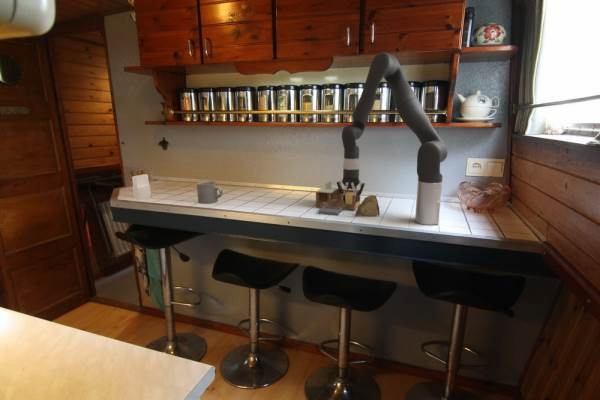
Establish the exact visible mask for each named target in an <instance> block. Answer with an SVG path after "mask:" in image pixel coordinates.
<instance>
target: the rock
mask: <svg viewBox="0 0 600 400" xmlns="http://www.w3.org/2000/svg"><path fill="white" fill-rule="evenodd" d="M380 213H381V211H380V206H379V200H378V198H377V195H374V194H370V195H368V196H366V197H364V199H363V200H362V201H361V202H360V205H359V206H358V208H357V209H356V210H355V214H354V215H355V216H356V217H368V218H369V217H379V216H380V215H381V214H380Z"/></svg>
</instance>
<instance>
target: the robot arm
mask: <svg viewBox="0 0 600 400" xmlns="http://www.w3.org/2000/svg"><path fill="white" fill-rule="evenodd" d="M383 79H384V80H385V81H386V83H387V85H388V86H389V88H390V91H391V93H392V97H393V98H392V99H393V105H394V108H395V109H396V112H397V114H398V116H399V117H400V119H401V120H402V122H403V123H404V125H405V126H407V128H409V130H411V132H413V133H414V135H415V136H416V137H417V139H418V140H419V142H420V144H421V145H420V146H419V148H418V150H417V154H416V156H417V158H416V174H417V187H416V188H417V189H416V204H415V213H414V214H415V216H414V221H415V222H416V223H417V224H421V225H428V226H431V225H432V226H433V225H439V223H440V221H439V220H440V212H441V211H440V210H441V198H442V197H441V196H442V188H443V187H442V186H443V174H442V173H441V163H443V162H444V161H445V160H447V158H448V148H447V146H446V144H445V142H444V141H443V139H442V138H441V137H440V136H439V134H438V132H437V131H436V130H435V129H434V126H433V125H432V123H431V121H430V119H429V117H428V115H427V113H426V111H425V110H424V107H423V105H422V103H421V102H420V99H419V98H418V97H417V95H416V93H415V91H414V90H413V88H412V87H411V85H410V83H409V82H408V80H407V78H406V76H405V74H404V71H403V69H402V66H401V64H400V62H399V59H398V58H397V57H396V56H395V55H393V54H390V53H388V52H384V51H383V52H379V53H376V55H375V56H374V57H373V58H372V61H371V64H370V67H369V69H368V73H367V76H366V80H365V83H364V86H363V88H362V89H363V90H362V92H361V95H360V97H359V99H358V101H357V103H356V106H355V108H354V110H353V111H352V115H351V117H352V120H353V121H352V123H351V124H347V125H345V126H344V127H343V128H342V131H341V139H342V146H343V163H342V169H343V170H342V180H340V181H337V182H336V184H337V185H336V186H338V189H339V192H340V194H343V201H344V202H345V194H346V193H347V191H348V189H352V190H353V192H354V195H356V199H355V203H356V202H357V199H358V195H360V196H361V194H362V193H363V190H364V188H365V185H366V183H365V182H361V181H360V147H359V146H357V142H356V141H357V140H359V139H360V138H361V137H362V135H363V134H364V132H365V131H364V130H365V128H366V125H367V120H368V119H369V117H370V114H371V112H372V110H373V108H374V105H375V101H376V93H377V90H378V88H379V85H380V83H381V81H382V80H383ZM342 186H344V188H343V187H342ZM358 186H359V187H360V188H359V189H358V188H357V187H358ZM343 189H344V191H343ZM357 190H359V192H357Z"/></svg>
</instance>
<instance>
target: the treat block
mask: <svg viewBox="0 0 600 400" xmlns="http://www.w3.org/2000/svg"><path fill="white" fill-rule="evenodd" d="M352 195H354V192H347V193H346V194H345V204H352Z"/></svg>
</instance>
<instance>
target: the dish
mask: <svg viewBox="0 0 600 400" xmlns="http://www.w3.org/2000/svg"><path fill="white" fill-rule="evenodd" d="M342 211H344V210H343V208H342V207H331V206H324V207H322V208H319V209H318V213H317V214H319V215H326V216H327V215H329V216H338V215H339V214H340V213H341V212H342Z"/></svg>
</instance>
